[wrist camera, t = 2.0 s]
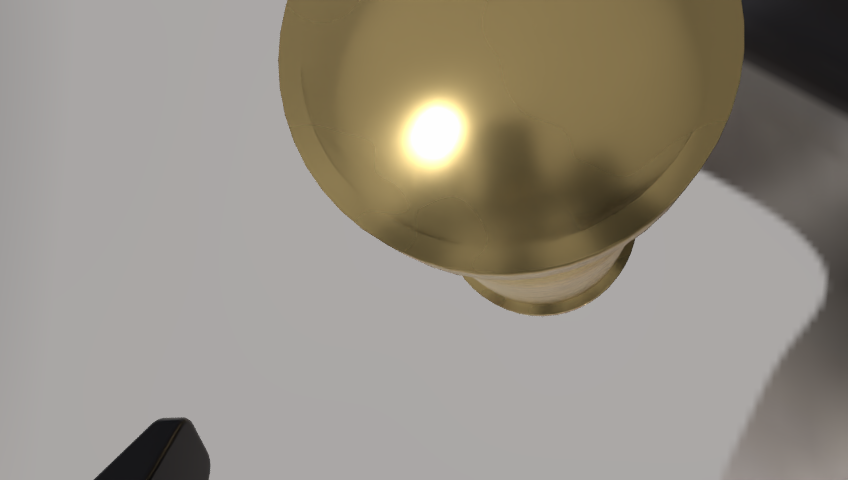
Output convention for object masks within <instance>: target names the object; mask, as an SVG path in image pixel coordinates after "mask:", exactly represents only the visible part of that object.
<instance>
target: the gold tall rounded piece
mask: <svg viewBox="0 0 848 480" xmlns="http://www.w3.org/2000/svg"><path fill="white" fill-rule="evenodd" d="M743 56H744V16H743V9H742V3H741V0H288V1H287V4H286V8H285V12H284V17H283V22H282V27H281V32H280V45H279V58H278V62H279V80H280V91H281V96H282V101H283V106H284V112H285V116H286V119H287V122H288V125H289V128H290V131H291V134H292V137H293V140H294V143H295V144H296V147H297V148H298V151H299V153H300V155H301V157H302V159H303V161H304V163H305V165H306V167H307V168H308V170H309V171H310V173H311V174H312V176H313V177H314V179H315V180H316V181H317V183H318V184H319V186H320V187H321V189H322V190H323V191H324V192H325V193H326V195H327V196H328V197H329V198H330V199H331V200H332V201H333V202H334V204H335V205H336V206H337V207H338V208H339V209H340V210H341V211H342V212H343V213H344V214H345V215H347V216H348V217H349V218H350V219H351V220H353V221H354V222H355V223H356V224H357V225H359V226H360V227H361V228H362V229H363V230H365V231H366V232H368V233H370V234H371V235H373V236H374V237H376V238H378V239H379V240H381V241H382V242H384V243H385V244H387V245H389V246H390V247H392V248H394V249H396V250H398V251H399V252H401V253H403V254H405V255H407V256H409V257H411V258H413V259H415V260H418V261H420V262H422V263H424V264H426V265H428V266H431V267H434V268H437V269H440V270H443V271H447V272H450V273H453V274H456V275H462V276H463V277H464V279H465V280H466V281H467V282H468V283H469V284H470V285H471V286H472V288H473V289H475V290H476V291H477V292H478V293H479V294H481V295H482V296H483V297H485V298H486V299H488V300H489V301H491V302H493V303H494V304H496V305H498V306H500V307H502V308H504V309H507V310H509V311H513V312H516V313H519V314H525V315H530V316H551V315H558V314H563V313H567V312H570V311H573V310H576V309H578V308H580V307H582V306H584V305H586V304H588V303H590V302H591V301H593V300H594V299H596V298H597V297H598V296H600V295H601V294H602V293H603V292H604V291H605V290H607V289H608V288H609V287H610V285H611V284H612V283H613V282H614V280H615V279H616V278H617V277H618V276H619V274H620V273H621V271H622V269H623V268H624V266H625V264H626V262H627V260H628V258H629V256H630V254H631V251H632V248H633V244H634V241H635V238H636V237H637V236H639V235H640V234H642V233H643V232H645V231H646V230H647V229H648V228H649V227H650V226H651V225H652V224H653V223H654V222H656V221H657V220H658V219H659V218H660V217H661V216H662V215H663V214H664V213H665V212H666V211H667V210H668V209H669V208H670V207H671V206H672V204H673V203H674V202H675V201H676V200H677V198H678V197H679V196H680V195H681V194H682V192H683V191H684V190H685V189H686V188H687V186H688V185H689V183H690V182H691V181H692V180H693V178H694V177H695V176H696V175H697V173H698V172H699V171H700V169H701V168H702V166H703V165H704V163H705V161H706V160H707V158H708V157H709V155H710V153H711V152H712V150H713V149H714V147H715V145H716V144H717V142H718V140H719V138H720V136H721V134H722V131H723V129H724V127H725V125H726V122H727V120H728V118H729V116H730V114H731V111H732V107H733V104H734V100H735V97H736V94H737V90H738V87H739V83H740V77H741V70H742V63H743Z"/></svg>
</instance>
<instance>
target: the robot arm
mask: <svg viewBox="0 0 848 480" xmlns="http://www.w3.org/2000/svg"><path fill="white" fill-rule="evenodd" d="M209 474H210V459H209V455H208V453H207V451H206V448H205V447H204V445H203V443H202V441H201V439H200V437H199V435H198V433H197V431H196V429H195V428H194V425H193V424H192V422H191V421H190V420H188V419H187V418H162V419H159V420H157V421H155V422H154V423H152V424H151V425H150V426H149V427H148V428H147V429H146V430H145V431H144V432H143V433H142V434H141V435H140V436H139V437H138V438H137V439H136V440H135V441H134V442H132V444H131V445H130V446H128V447H127V448H126V449H125V450H124V451H123V452H122V453H121V454H120V455H119V456H118V457H117V458H116V459H115V460H114V461H113V462H112V463H111V464H110V465H109V466H108V467H106V468H105V469H104V470H103V471H102V472H101V473H100V474H99V475H98V476H97V477H96V478H95V479H94V480H209Z"/></svg>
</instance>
